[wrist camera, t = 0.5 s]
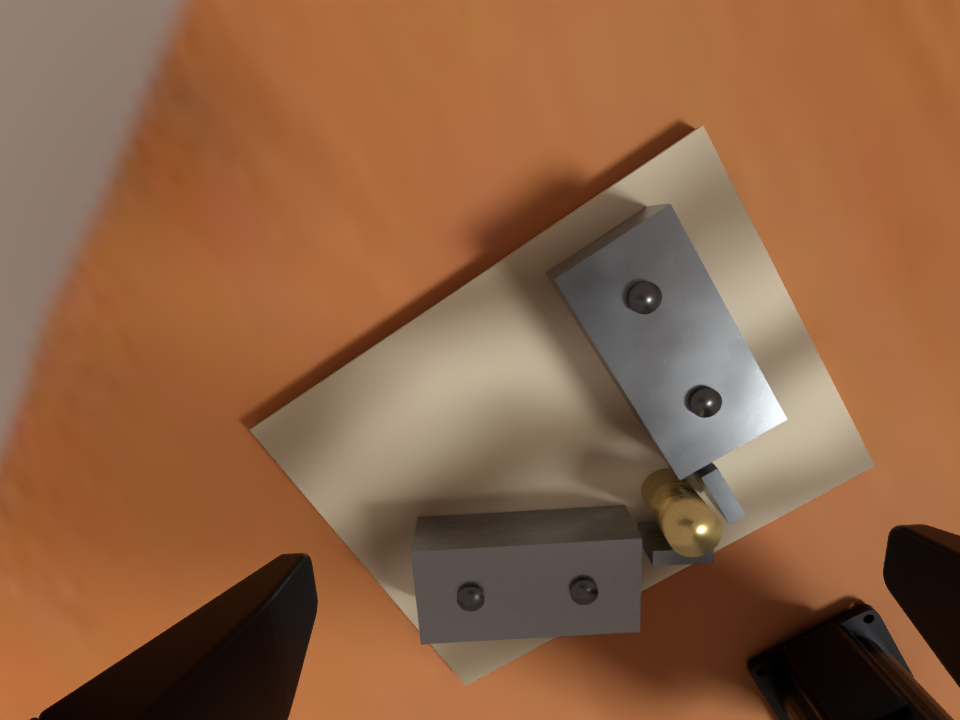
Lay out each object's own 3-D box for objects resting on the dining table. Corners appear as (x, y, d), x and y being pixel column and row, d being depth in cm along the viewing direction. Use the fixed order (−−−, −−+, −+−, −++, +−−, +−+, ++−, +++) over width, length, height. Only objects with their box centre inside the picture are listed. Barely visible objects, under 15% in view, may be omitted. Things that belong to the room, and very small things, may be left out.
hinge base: (656, 521, 22) (686, 569, 19) (510, 295, 20) (516, 309, 16) (782, 451, 21) (834, 490, 18) (646, 205, 19) (680, 202, 16)
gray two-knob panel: (687, 587, 23) (713, 632, 20) (426, 602, 23) (420, 648, 21) (692, 501, 22) (719, 537, 19) (417, 517, 22) (409, 555, 19)
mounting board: (864, 459, 22) (875, 465, 22) (466, 675, 25) (465, 686, 24) (695, 128, 19) (703, 125, 18) (255, 424, 22) (249, 430, 21)
